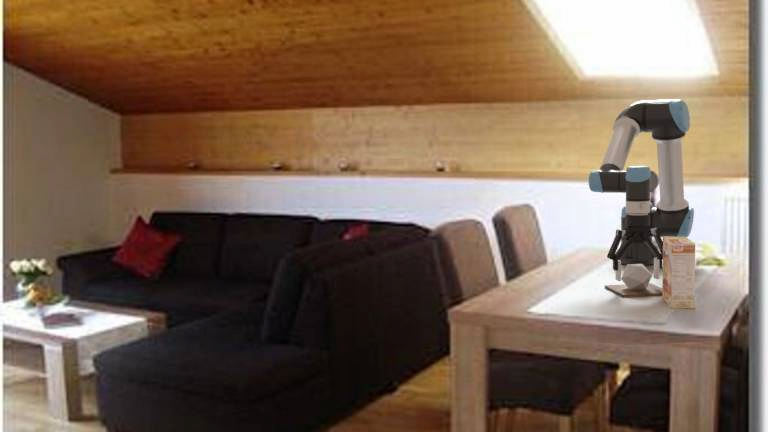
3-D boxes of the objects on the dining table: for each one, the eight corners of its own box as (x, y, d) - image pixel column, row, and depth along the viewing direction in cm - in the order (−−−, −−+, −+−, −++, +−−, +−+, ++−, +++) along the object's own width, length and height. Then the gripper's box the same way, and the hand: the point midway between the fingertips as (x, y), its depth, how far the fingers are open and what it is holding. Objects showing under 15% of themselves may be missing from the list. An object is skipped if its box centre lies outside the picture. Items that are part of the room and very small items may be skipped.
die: (647, 294, 257) (659, 267, 259) (622, 281, 258) (634, 254, 260) (637, 298, 265) (649, 272, 268) (613, 285, 266) (625, 259, 268)
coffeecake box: (661, 297, 253) (662, 236, 250) (685, 298, 251) (686, 236, 249) (669, 308, 238) (670, 243, 236) (695, 308, 237) (696, 242, 235)
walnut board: (651, 285, 272) (651, 283, 272) (671, 295, 256) (671, 292, 256) (604, 287, 270) (604, 285, 270) (622, 297, 255) (622, 294, 254)
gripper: (605, 216, 256) (605, 283, 258) (679, 213, 258) (678, 279, 260) (596, 214, 263) (596, 278, 265) (669, 211, 265) (668, 275, 267)
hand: (637, 279), depth 263 cm, fingers open, 12 cm apart
